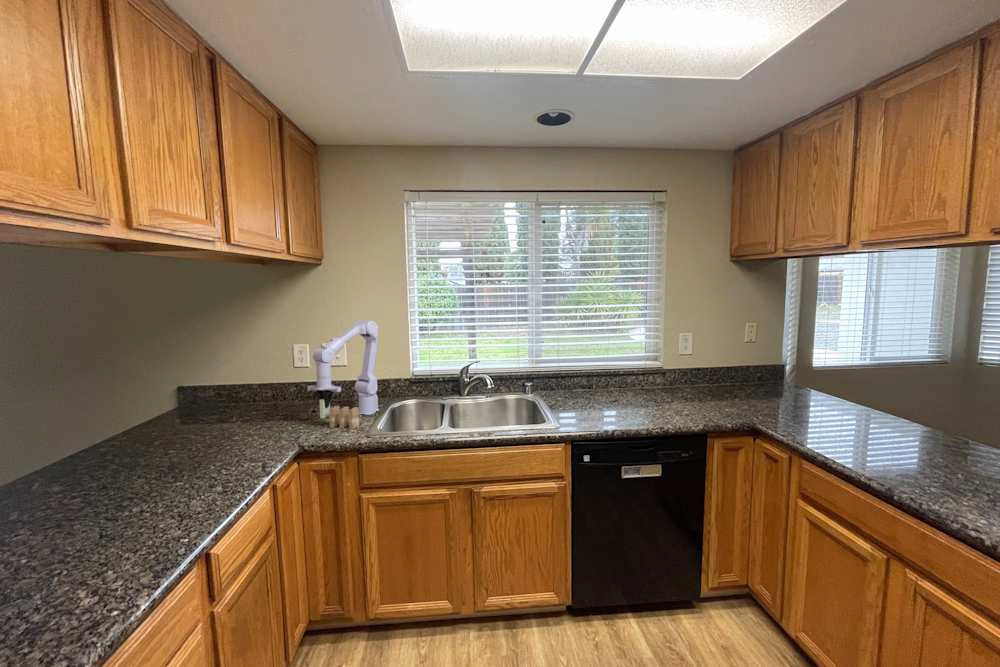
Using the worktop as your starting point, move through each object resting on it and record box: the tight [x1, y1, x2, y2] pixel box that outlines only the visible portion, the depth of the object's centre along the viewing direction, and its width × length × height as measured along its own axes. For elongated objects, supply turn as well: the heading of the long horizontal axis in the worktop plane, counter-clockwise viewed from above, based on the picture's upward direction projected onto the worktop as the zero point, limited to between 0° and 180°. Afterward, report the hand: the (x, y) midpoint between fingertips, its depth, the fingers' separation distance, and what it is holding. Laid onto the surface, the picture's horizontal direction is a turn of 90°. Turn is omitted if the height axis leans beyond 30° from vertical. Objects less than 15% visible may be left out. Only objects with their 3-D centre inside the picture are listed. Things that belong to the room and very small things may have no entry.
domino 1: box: [319, 398, 331, 419], centre depth 180 cm, size 2×5×8 cm, turn 170°
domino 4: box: [348, 406, 360, 430], centre depth 177 cm, size 2×5×8 cm, turn 169°
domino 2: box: [329, 405, 341, 428], centre depth 179 cm, size 2×5×8 cm, turn 169°
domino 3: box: [339, 406, 350, 429], centre depth 178 cm, size 2×5×8 cm, turn 169°
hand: (325, 407), depth 180 cm, fingers closed on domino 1, 1 cm apart
